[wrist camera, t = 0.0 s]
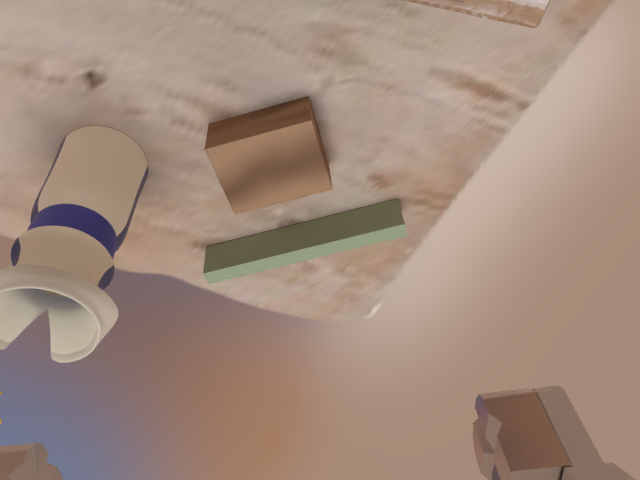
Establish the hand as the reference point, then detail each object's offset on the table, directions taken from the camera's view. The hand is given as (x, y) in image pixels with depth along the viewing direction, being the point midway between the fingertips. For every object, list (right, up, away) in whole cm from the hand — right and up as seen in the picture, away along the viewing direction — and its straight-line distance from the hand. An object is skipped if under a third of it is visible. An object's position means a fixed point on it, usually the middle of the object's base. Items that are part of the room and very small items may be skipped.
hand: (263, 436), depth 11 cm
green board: (-1, +5, +47) cm, 47 cm away
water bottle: (-18, +10, +41) cm, 46 cm away
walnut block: (-3, +12, +40) cm, 42 cm away
